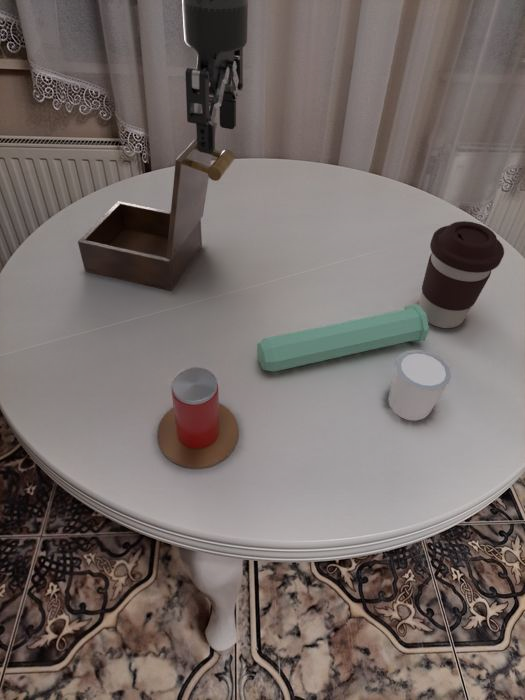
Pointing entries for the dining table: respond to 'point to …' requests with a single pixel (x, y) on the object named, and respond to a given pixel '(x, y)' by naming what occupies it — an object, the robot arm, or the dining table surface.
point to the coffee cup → (458, 271)
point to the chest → (137, 246)
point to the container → (343, 339)
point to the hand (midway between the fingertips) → (217, 139)
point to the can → (196, 407)
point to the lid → (192, 190)
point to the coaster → (204, 455)
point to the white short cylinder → (417, 384)
